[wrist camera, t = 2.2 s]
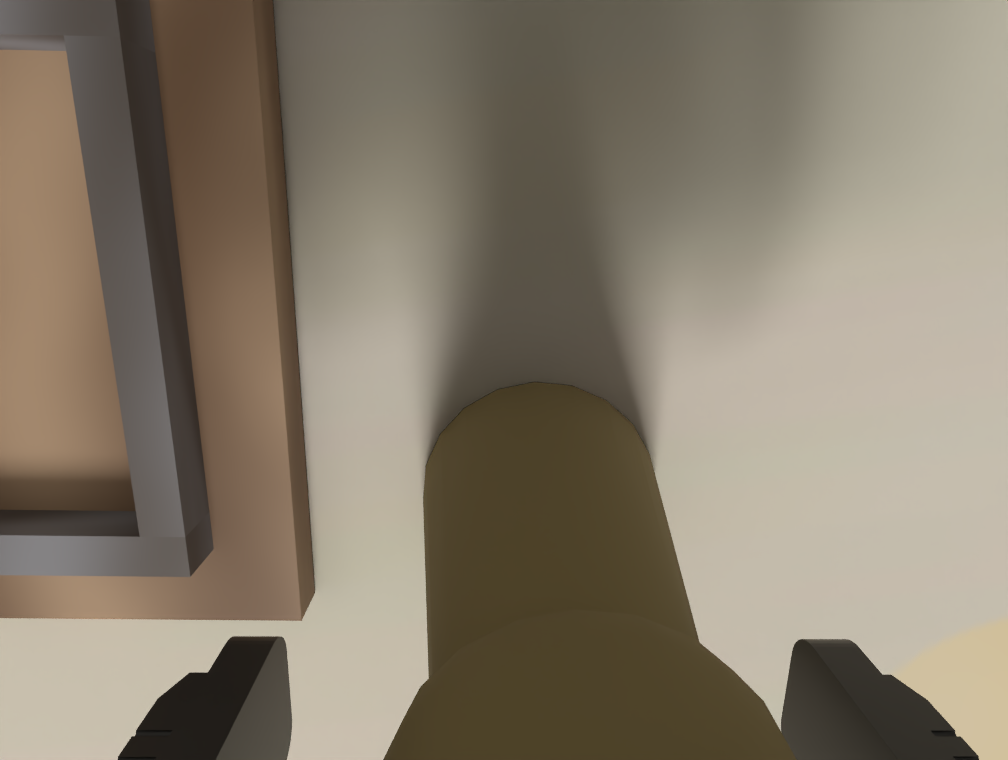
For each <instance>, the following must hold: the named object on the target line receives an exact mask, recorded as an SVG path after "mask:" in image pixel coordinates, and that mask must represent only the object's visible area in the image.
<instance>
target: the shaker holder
mask: <svg viewBox="0 0 1008 760" xmlns="http://www.w3.org/2000/svg"><path fill="white" fill-rule="evenodd" d="M314 593H315V587H314V573H313V559H312V545H311V531H310V517H309V503H308V489H307V475H306V461H305V447H304V433H303V419H302V405H301V391H300V377H299V362H298V348H297V334H296V320H295V306H294V292H293V278H292V264H291V250H290V236H289V222H288V208H287V194H286V180H285V166H284V152H283V138H282V124H281V110H280V96H279V82H278V68H277V54H276V40H275V26H274V12H273V0H0V618H65V619H178V620H290V621H302V618H303V616H304V614H305V612H306V610H307V608H308V606H309V604H310V602H311V600H312V598H313V596H314Z"/></svg>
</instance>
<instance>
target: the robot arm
mask: <svg viewBox="0 0 1008 760" xmlns="http://www.w3.org/2000/svg"><path fill="white" fill-rule="evenodd" d="M291 731H292V713H291V700H290V687H289V674H288V661H287V649H286V643H285V640H284V638H283V637H231V638H230V639H229V640H228V641H227V643H226V644H225V646H224V647H223V649H222V651H221V652H220V654H219V656H218V657H217V659H216V660H215V662H214V664H213V665H212V667H211V669H210V670H209V672H208V673H189V674H188V675H186V676H185V677H184V678H183V679H181V680H180V681H179V682H178V683H177V684H175V685H174V686H173V687H172V688H170V689H169V690H168V691H167V692H166V693H164V694H163V695H162V696H161V697H159V698H158V699H157V701H156V702H155V704H154V705H153V707H152V708H151V709H150V711H149V712H148V714H147V715H146V717H145V718H144V720H143V721H142V723H141V724H140V726H139V727H138V729H137V730H136V735H135V736H132V737H131V739H130V740H129V742H128V743H127V745H126V746H125V748H124V749H123V750H122V752H121V753H120V755H119V756H118V760H287V756H288V751H289V746H290V740H291ZM781 731H782V735H783V736H784V738H785V740H786V742H787V743H788V745H789V747H790V749H791V751H792V752H793V754H794V756H795V758H796V759H797V760H979V758H978V755H977V754H976V753H975V752H974V751H973V750H972V749H971V748H970V747H969V745H968V744H967V743H966V742H965V741H964V740H963V739H962V738H961V737H957V736H956V734H955V730H954V729H953V728H952V727H951V726H950V724H949V723H948V722H947V721H946V720H945V719H944V718H943V717H942V716H941V715H940V713H939V712H937V710H936V709H935V708H934V707H933V706H932V705H931V704H930V702H929V701H928V700H926V699H925V698H924V697H922V696H921V695H919V694H918V693H916V692H915V691H913V690H912V689H911V688H909V687H908V686H906V685H905V684H904V683H902V682H901V681H899V680H898V679H896V678H895V677H894V676H892V675H882V674H881V673H880V671H879V670H878V669H877V668H876V667H875V666H874V664H873V663H872V662H871V661H870V660H869V659H868V657H867V656H866V655H865V654H864V653H863V652H862V651H861V649H860V648H859V647H858V646H857V645H856V644H855V643H854V642H852V641H850V640H846V639H801V640H798V641H797V642H796V643H795V645H794V647H793V651H792V657H791V663H790V669H789V675H788V681H787V687H786V694H785V700H784V706H783V712H782V719H781Z"/></svg>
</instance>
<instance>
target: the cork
mask: <svg viewBox="0 0 1008 760" xmlns="http://www.w3.org/2000/svg"><path fill="white" fill-rule="evenodd" d="M423 507H424V539H425V571H426V603H427V634H428V666H429V679H428V680H427V681H426V682H425V683H424V684H423V685H422V686H421V687H420V689H419V691H418V693H417V694H416V696H415V698H414V700H413V702H412V704H411V706H410V708H409V709H408V711H407V713H406V715H405V717H404V719H403V721H402V723H401V725H400V727H399V729H398V731H397V733H396V735H395V737H394V739H393V741H392V743H391V745H390V747H389V749H388V751H387V753H386V755H385V757H384V760H797V759H796V758H795V756H794V754H793V752H792V751H791V749H790V747H789V745H788V743H787V742H786V740H785V738H784V736H783V735H782V733H781V731H780V729H779V727H778V726H777V724H776V722H775V720H774V719H773V717H772V715H771V713H770V712H769V710H768V708H767V706H766V704H765V703H764V701H763V700H762V699H761V698H760V697H759V696H758V695H757V694H756V693H755V692H754V691H753V690H752V689H751V688H750V687H749V686H748V685H747V684H746V683H745V682H744V681H743V680H742V679H741V678H740V677H739V676H738V675H737V674H736V673H735V672H734V671H733V670H732V669H731V668H729V667H728V666H727V665H726V664H725V663H723V662H722V661H721V660H720V659H719V658H717V657H716V656H715V655H714V654H713V653H711V652H710V651H709V650H708V649H707V648H705V647H704V646H703V645H702V644H700V643H699V639H698V635H697V632H696V628H695V624H694V620H693V616H692V613H691V609H690V605H689V601H688V598H687V594H686V590H685V586H684V583H683V579H682V575H681V571H680V567H679V564H678V560H677V556H676V552H675V549H674V545H673V541H672V537H671V533H670V530H669V526H668V522H667V518H666V515H665V511H664V507H663V503H662V500H661V496H660V492H659V488H658V484H657V481H656V477H655V473H654V469H653V466H652V462H651V458H650V454H649V453H648V451H647V449H646V447H645V445H644V444H643V442H642V440H641V438H640V436H639V434H638V433H637V431H636V429H635V427H634V425H633V424H632V423H631V422H630V421H629V420H628V419H626V418H625V417H624V416H623V415H622V414H621V413H620V412H619V411H618V410H616V409H615V408H614V407H613V406H612V405H611V404H610V403H609V402H607V401H606V400H604V399H602V398H599V397H597V396H595V395H593V394H590V393H588V392H586V391H583V390H581V389H579V388H576V387H574V386H570V385H560V384H550V383H540V382H532V383H527V384H522V385H517V386H513V387H508V388H503V389H498V390H496V391H494V392H492V393H490V394H489V395H487V396H485V397H483V398H481V399H480V400H478V401H476V402H474V403H472V404H471V405H469V406H467V407H465V408H464V409H463V410H462V411H461V412H460V413H459V414H458V415H457V417H456V418H455V419H454V420H453V421H452V422H451V423H450V424H449V425H448V426H447V427H446V428H445V429H444V431H443V432H442V433H441V434H440V436H439V438H438V440H437V442H436V445H435V447H434V449H433V451H432V453H431V456H430V458H429V460H428V462H427V465H426V471H425V484H424V496H423Z"/></svg>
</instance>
